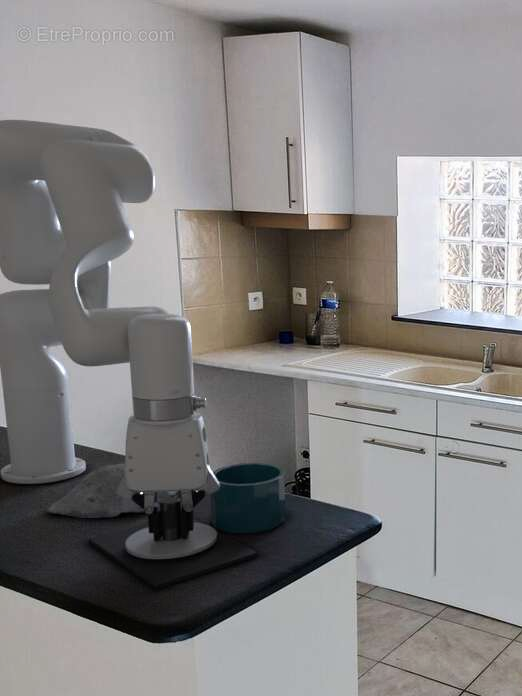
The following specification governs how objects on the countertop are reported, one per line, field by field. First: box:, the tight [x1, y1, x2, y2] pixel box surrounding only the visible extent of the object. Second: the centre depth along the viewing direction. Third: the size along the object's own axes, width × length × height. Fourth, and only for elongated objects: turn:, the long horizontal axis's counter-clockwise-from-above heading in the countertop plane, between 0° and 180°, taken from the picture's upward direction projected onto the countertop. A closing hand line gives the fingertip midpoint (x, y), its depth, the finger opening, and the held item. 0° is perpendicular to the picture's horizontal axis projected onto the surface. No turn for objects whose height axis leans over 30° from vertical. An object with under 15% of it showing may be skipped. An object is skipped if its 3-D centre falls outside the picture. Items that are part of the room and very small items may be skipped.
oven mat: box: [88, 518, 258, 590], centre depth 111 cm, size 20×14×1 cm
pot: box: [209, 462, 287, 534], centre depth 121 cm, size 11×11×8 cm
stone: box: [46, 462, 180, 519], centre depth 127 cm, size 18×8×15 cm
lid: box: [125, 496, 217, 559], centre depth 110 cm, size 12×12×7 cm
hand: (172, 535), depth 110 cm, fingers closed
